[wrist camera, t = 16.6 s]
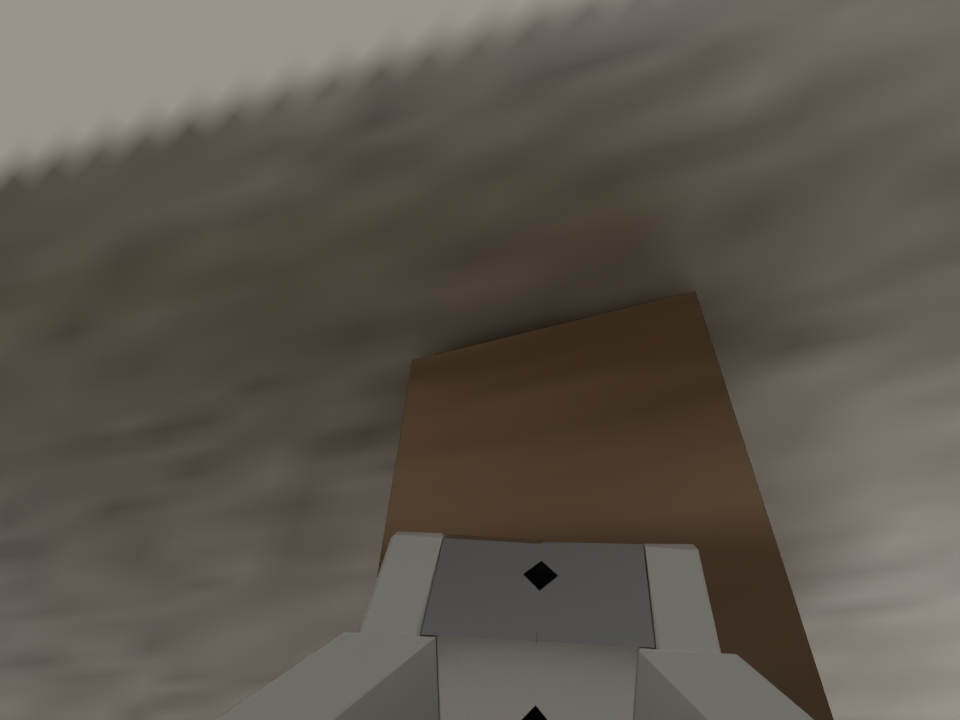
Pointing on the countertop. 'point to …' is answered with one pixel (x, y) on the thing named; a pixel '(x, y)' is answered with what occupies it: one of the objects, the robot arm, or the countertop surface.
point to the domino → (606, 464)
